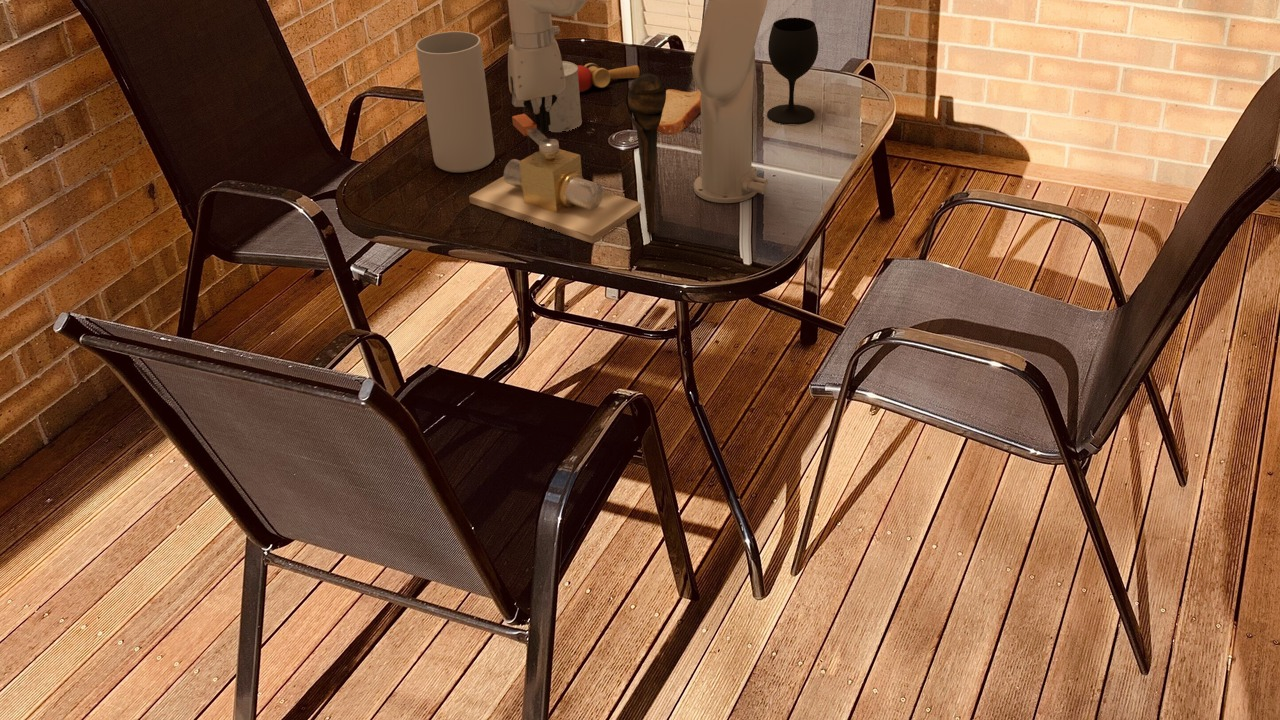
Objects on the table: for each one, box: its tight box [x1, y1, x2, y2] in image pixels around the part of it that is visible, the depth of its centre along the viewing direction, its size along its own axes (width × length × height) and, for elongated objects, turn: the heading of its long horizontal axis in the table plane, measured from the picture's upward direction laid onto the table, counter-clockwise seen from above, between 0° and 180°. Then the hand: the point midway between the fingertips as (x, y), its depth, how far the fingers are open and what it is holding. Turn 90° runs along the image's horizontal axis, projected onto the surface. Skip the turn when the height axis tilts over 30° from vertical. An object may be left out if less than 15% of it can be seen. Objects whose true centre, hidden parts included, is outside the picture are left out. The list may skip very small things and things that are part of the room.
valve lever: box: [511, 113, 560, 156], centre depth 214 cm, size 17×4×2 cm, turn 27°
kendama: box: [576, 62, 641, 93], centre depth 264 cm, size 8×6×18 cm
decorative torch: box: [625, 72, 667, 235], centre depth 197 cm, size 7×7×30 cm
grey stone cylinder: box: [537, 60, 583, 133], centre depth 245 cm, size 10×10×12 cm
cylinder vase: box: [415, 30, 496, 174], centre depth 227 cm, size 12×12×25 cm
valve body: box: [503, 148, 604, 213], centre depth 213 cm, size 20×8×10 cm, turn 54°
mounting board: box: [468, 175, 642, 244], centre depth 216 cm, size 30×15×2 cm, turn 54°
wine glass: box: [766, 17, 819, 125], centre depth 241 cm, size 10×10×20 cm
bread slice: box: [657, 88, 701, 136], centre depth 249 cm, size 18×18×4 cm
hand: (542, 129), depth 220 cm, fingers closed
